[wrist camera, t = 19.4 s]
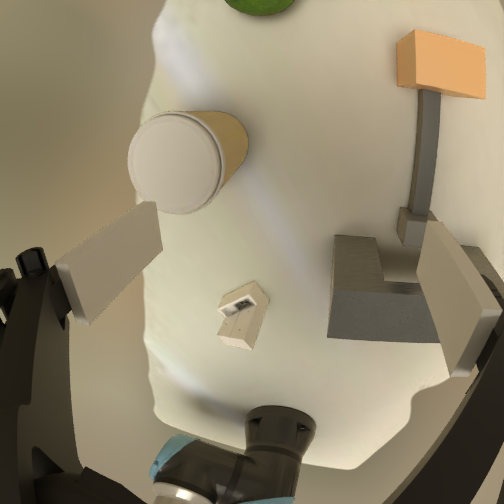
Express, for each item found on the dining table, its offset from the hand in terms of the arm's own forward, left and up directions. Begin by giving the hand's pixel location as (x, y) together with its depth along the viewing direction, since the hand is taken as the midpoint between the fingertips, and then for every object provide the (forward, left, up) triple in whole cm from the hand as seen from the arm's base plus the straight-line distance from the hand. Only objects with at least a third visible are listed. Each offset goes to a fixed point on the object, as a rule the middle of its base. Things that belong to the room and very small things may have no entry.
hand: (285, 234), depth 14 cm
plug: (+2, -13, -22) cm, 26 cm away
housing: (-13, -13, -22) cm, 29 cm away
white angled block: (-21, +9, -22) cm, 32 cm away
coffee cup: (+1, +11, -22) cm, 25 cm away
